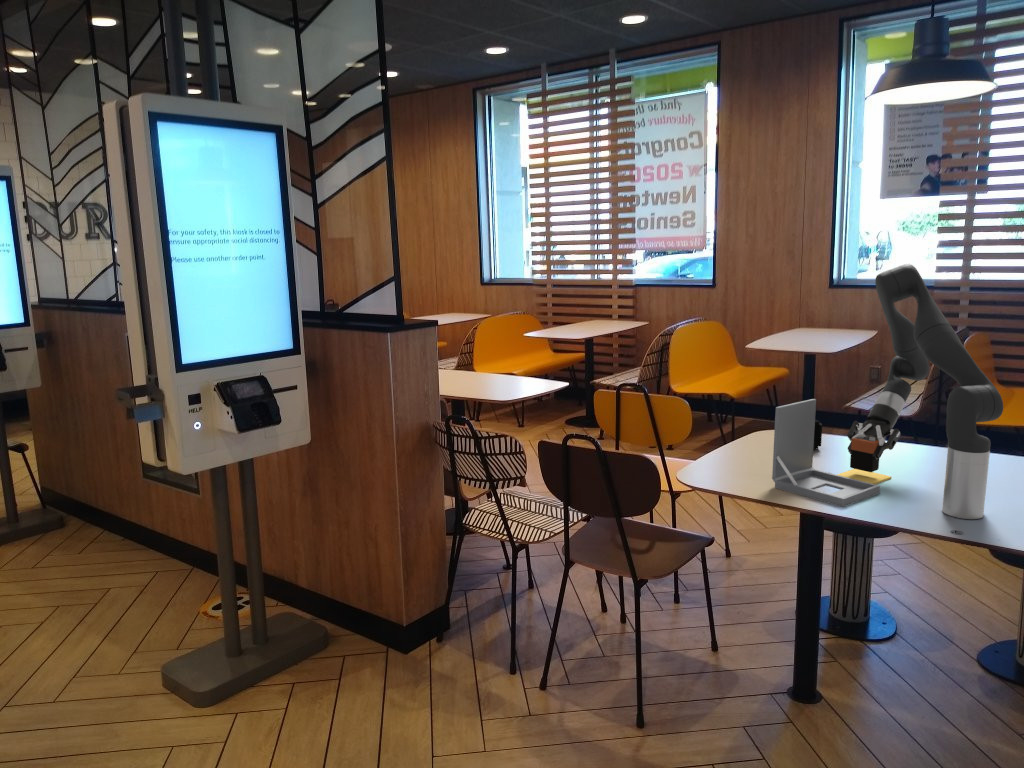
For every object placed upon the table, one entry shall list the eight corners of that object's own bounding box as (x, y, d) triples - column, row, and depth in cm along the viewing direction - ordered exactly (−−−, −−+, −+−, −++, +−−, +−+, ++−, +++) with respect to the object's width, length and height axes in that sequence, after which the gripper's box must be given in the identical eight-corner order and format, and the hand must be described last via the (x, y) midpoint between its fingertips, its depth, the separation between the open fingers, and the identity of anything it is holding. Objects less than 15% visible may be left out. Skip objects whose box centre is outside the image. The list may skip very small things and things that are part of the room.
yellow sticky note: (856, 470, 242) (856, 468, 241) (891, 478, 233) (891, 476, 233) (835, 476, 235) (835, 474, 235) (871, 485, 226) (871, 483, 226)
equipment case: (808, 475, 237) (813, 398, 233) (879, 493, 220) (885, 411, 216) (771, 486, 227) (775, 407, 222) (843, 507, 209) (848, 421, 205)
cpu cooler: (819, 446, 269) (820, 416, 267) (823, 450, 264) (824, 420, 262) (787, 445, 271) (788, 416, 269) (790, 449, 265) (792, 420, 263)
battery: (856, 465, 238) (859, 432, 236) (879, 470, 232) (881, 436, 230) (849, 467, 235) (851, 435, 233) (871, 473, 230) (874, 439, 228)
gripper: (859, 399, 240) (835, 443, 236) (906, 406, 229) (881, 453, 224) (867, 413, 244) (843, 457, 240) (914, 422, 233) (890, 468, 228)
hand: (862, 455), depth 232 cm, fingers closed on battery, 7 cm apart
